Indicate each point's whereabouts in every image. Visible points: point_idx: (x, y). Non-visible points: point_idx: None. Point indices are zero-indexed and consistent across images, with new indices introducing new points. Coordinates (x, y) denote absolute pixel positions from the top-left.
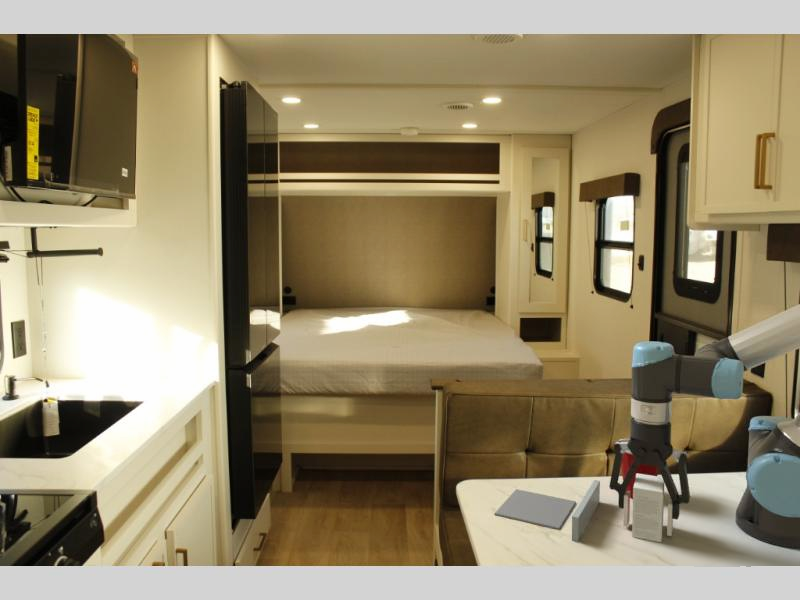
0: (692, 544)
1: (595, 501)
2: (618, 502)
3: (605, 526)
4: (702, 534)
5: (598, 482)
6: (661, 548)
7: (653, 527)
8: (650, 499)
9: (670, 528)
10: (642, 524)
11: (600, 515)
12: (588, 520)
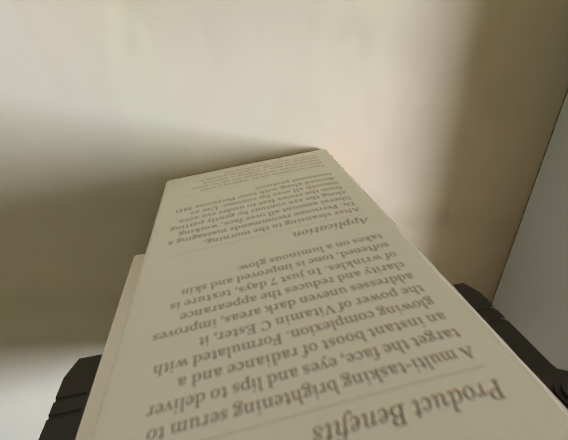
0: (19, 259)
1: (525, 319)
2: (496, 309)
3: (460, 179)
4: (42, 364)
5: None
6: (136, 109)
7: (210, 208)
8: (271, 429)
9: (129, 285)
10: (289, 196)
11: (478, 261)
12: (548, 173)
